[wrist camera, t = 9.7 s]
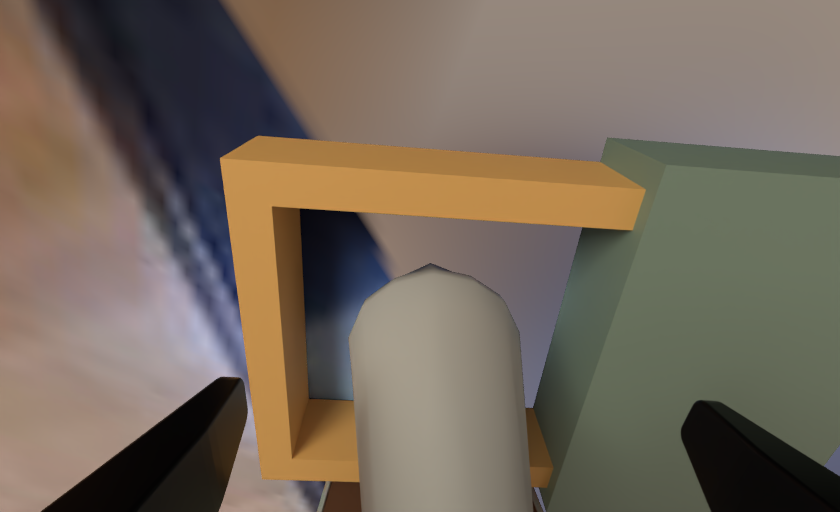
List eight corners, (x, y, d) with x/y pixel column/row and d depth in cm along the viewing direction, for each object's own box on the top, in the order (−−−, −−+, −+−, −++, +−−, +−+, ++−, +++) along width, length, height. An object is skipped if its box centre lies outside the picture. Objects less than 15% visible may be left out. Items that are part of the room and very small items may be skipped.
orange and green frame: (726, 446, 20) (783, 518, 17) (283, 430, 19) (259, 505, 16) (894, 160, 14) (1030, 192, 11) (255, 109, 13) (206, 129, 10)
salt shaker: (328, 282, 16) (103, 942, 4) (466, 216, 15) (684, 852, 3) (401, 385, 18) (388, 986, 7) (525, 335, 17) (772, 946, 6)
